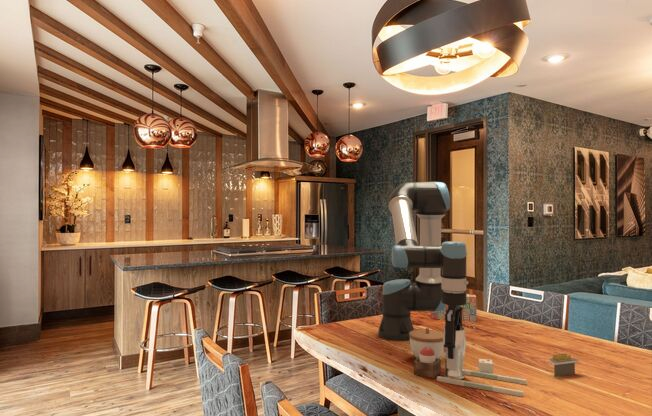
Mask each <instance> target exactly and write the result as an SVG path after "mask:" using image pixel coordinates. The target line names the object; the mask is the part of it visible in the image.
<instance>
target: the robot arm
mask: <svg viewBox="0 0 652 416" xmlns="http://www.w3.org/2000/svg"><path fill="white" fill-rule="evenodd" d="M387 205H388V210H389V212H390V213H391V216H392V223H393V232H394V238H395V239H394V240H395V245H393V246H392V247H391V264H392V267H394V268H400V269H401V268H402V269H419V271H418V272H419V274H418V275H417V277H415V282H412V281H411V280H410V279H408V278H401V279H400V278H399V279H391V280H388V281H386V282H384V283H383V285H382V293H381V295H382V319H381V320H380V325H379V327H378V331H377V332H378V337H380V338H382V339H383V340H390V341H398V342H399V341H410V337H409V333H410V332H411V331H413V330H415V328H414V324H413V321H412V317H411V312H431V311H432V312H435V311H443V310H444V309H445V308H446V305H448V310H446V314H445V320H444V321H445V324H444V326H445V345H444V347H447V368H448V369H454V370H456V347H455V341H456V331H460V326H461V327H463V321H462V309H463V308H462V307H460V306H462V305H465V304H466V303H467V294H468V293H467V292H466V291H467V285H469V281H468V280H467V256H468V252H467V244H466V243H465V242H463V241H455V240H454V241H450V240H449V241H444V242H442V219H443V218H444V217H445V216H446V212H447V211H449V210H450V208H451V206H450V205H451V198H450V192H449V189H448V186H447V184H446V183H445V182H443V181H442V182H441V181H415V182H414V181H408V182H407V181H406V182H403V183H402V184H399V185H398V186H396V188H395V189H393V190H392V192H391V193H390V195H389V197H388V203H387ZM412 211H416V216H417V217H418V218H419V242H418V238H417V232H416V227H415V222H414V218H413V213H412Z"/></svg>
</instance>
